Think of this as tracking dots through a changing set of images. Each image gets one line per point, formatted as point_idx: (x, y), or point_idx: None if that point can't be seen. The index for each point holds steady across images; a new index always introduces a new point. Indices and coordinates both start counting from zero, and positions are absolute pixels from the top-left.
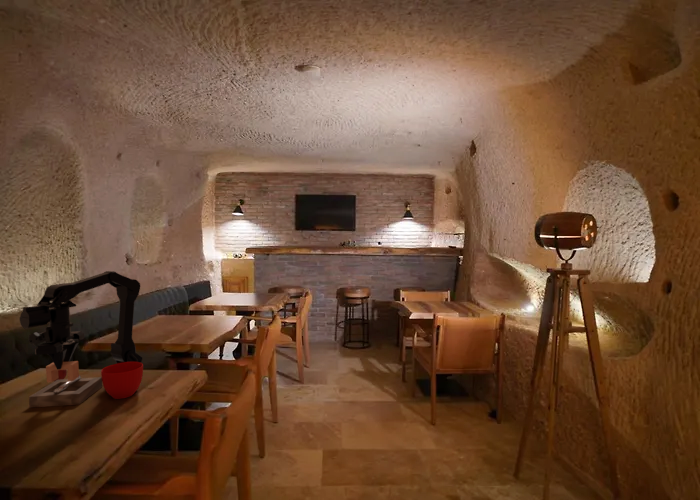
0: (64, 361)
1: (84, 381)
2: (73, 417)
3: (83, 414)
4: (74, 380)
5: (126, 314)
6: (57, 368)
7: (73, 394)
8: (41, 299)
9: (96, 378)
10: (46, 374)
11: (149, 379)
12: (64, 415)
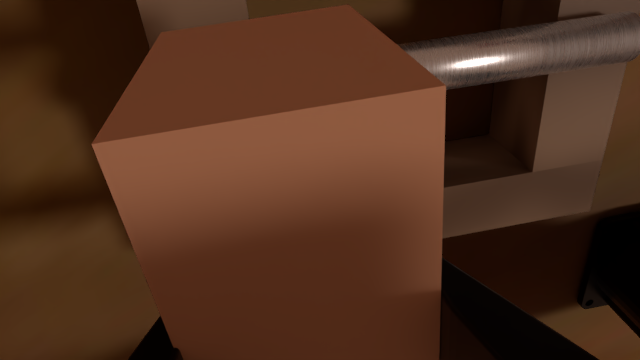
0: (446, 316)
1: (535, 120)
2: (13, 321)
3: (68, 342)
4: (507, 79)
5: None
6: (157, 333)
7: None
8: None
9: (570, 187)
10: (137, 73)
11: None
12: (25, 255)
